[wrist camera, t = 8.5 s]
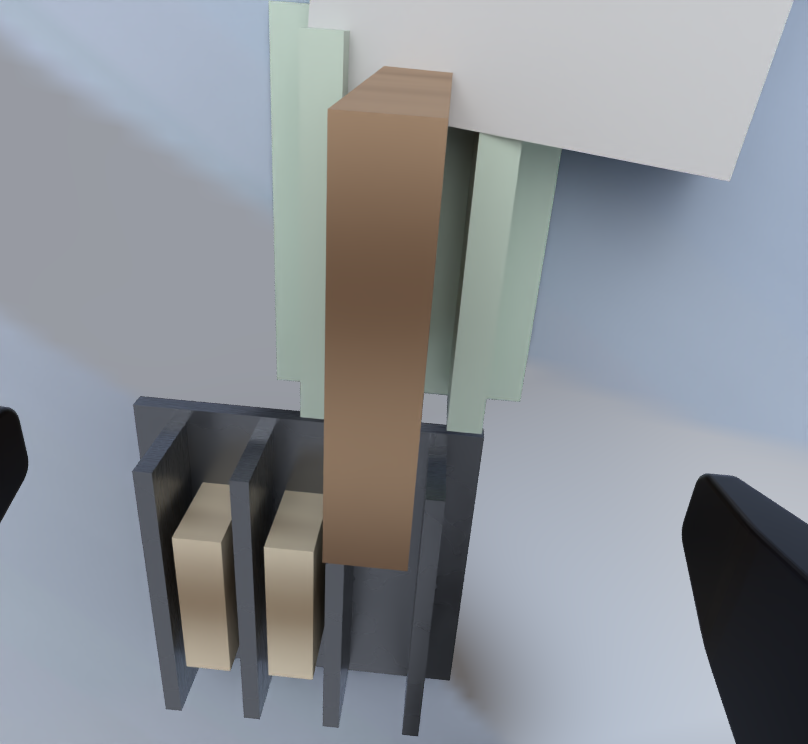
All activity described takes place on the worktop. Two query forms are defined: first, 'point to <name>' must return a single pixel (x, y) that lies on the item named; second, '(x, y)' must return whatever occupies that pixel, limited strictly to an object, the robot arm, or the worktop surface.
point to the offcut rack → (344, 585)
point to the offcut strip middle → (295, 585)
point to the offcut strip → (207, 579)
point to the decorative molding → (582, 69)
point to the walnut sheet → (379, 306)
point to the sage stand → (457, 238)
